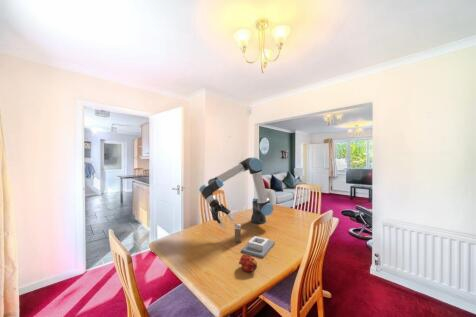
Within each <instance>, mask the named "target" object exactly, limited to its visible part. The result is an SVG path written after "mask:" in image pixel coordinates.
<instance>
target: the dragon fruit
mask: <svg viewBox="0 0 476 317" xmlns="http://www.w3.org/2000/svg"><path fill="white" fill-rule="evenodd" d="M239 260H240V261H238V265H241V269H242V271H246V272H247V273H253V271H256V269H258V264H257V263H258V262H257V260H255V259H254V258H253V257H252V255H250V254H247V253H244V254H242V255H241V256H240V258H239Z"/></svg>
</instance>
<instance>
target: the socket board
mask: <svg viewBox="0 0 476 317" xmlns="http://www.w3.org/2000/svg"><path fill="white" fill-rule="evenodd" d="M275 243H276V242H275V241H272V240H270V239H269V238H265V237H260V236H256V235H254V236H253V237H252V238H251V239H250V240H249V241H248V242H247V244H246V245H245V246H243V247H242V248H241V249H240V252H241V253H244V254H248V255H251V256H255V257H258V258H262V259H264V258H266V256H267V255H268V253H269V252H270V250H271V249H272V248H273V246H275Z"/></svg>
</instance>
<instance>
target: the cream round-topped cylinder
mask: <svg viewBox="0 0 476 317" xmlns="http://www.w3.org/2000/svg"><path fill="white" fill-rule="evenodd" d="M241 227H242V226H241V224H240V223H235V224H234V243H235V244H241V243H242V242H241V241H242V240H241V239H242V238H241V234H242V232H241V230H242V228H241Z"/></svg>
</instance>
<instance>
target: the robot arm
mask: <svg viewBox="0 0 476 317" xmlns="http://www.w3.org/2000/svg"><path fill="white" fill-rule="evenodd" d="M263 168H264V164H263V161H262V159H260V158H259V157H254V156H253V157H247V158H245V159H243V160H242V161H240V162H238V164H237V165H235V166H233V167H232V168H230V169H228V170H226V171H224V172H222V173H220V174H219V175H217V176H215V177H212V178H210V179H208V181H207V184H203V185H201V186H200V188H199V190H198V191H199V192H200V194H201V195H202V197H203V198H204V200H205V201H206V203H207V204H208V205H209V207H210V212H211V217H212V220H213V221H215V222H217V223H218V225H219V226H220V227H221V228H223V227H225V224H224V223H223V221H222V220H221V218H220V217H219V212H222V213H223V214H225V215H226V216H227V218H229V221H230V222H233V221H235V219H234V217H233V216H232V214H231V210H230V209H229V208H227V207H226V206H224V204H223V203H220V201H219V200H218V199H217V197H216V196H215V194H214V193H216V192H217V191H218V190H219V189H221V188H222V187H224V182H227V181H228V180H229V179H231V178H234V177H235V176H237V175H239V174H241V173H242V172H246V171H248V172H249V174H250V175H251V176H252V180H253V184H254V188H255V192H256V197H253V198H252V202H251V203H252V214H251V218H250V222H251V223H253V224H265V223H267V217H266V216H271V214H272V213H273V212H274V208H275V207H274V206H273V204H272V203H271V201H270V198H269V197H268V196H267V195H268V194H267V190H266V187H265V183H264V180H263V174H262V172H263Z"/></svg>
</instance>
